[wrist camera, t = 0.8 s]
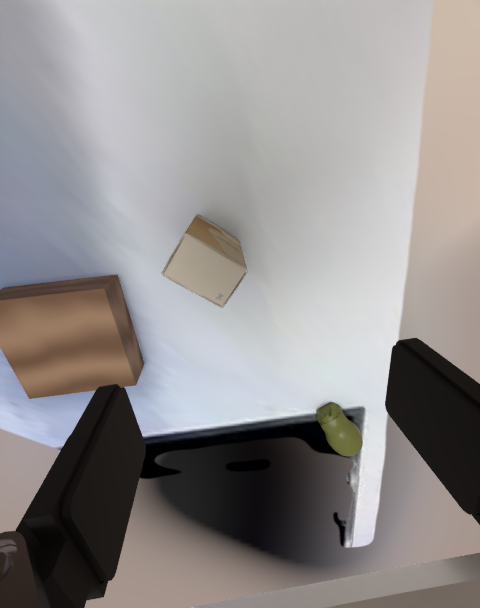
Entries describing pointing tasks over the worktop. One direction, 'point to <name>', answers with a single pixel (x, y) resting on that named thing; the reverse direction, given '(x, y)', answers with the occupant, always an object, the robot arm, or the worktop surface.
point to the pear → (339, 430)
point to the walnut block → (69, 336)
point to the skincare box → (207, 262)
